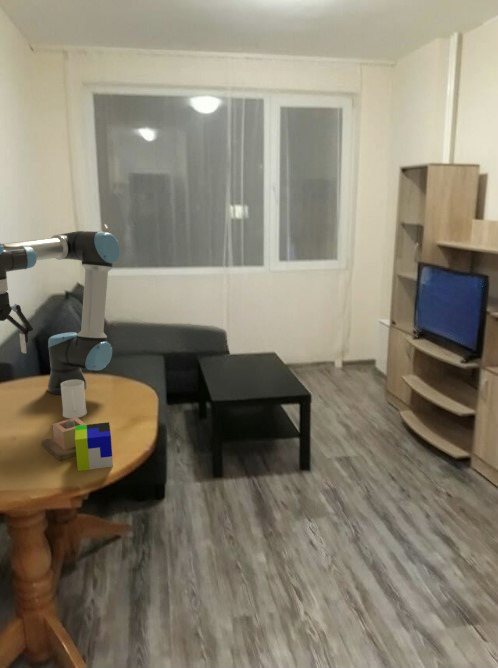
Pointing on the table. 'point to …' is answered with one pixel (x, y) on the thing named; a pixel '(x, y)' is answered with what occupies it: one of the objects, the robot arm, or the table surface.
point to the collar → (65, 433)
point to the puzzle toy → (93, 446)
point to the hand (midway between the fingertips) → (2, 356)
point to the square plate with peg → (58, 450)
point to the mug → (73, 398)
